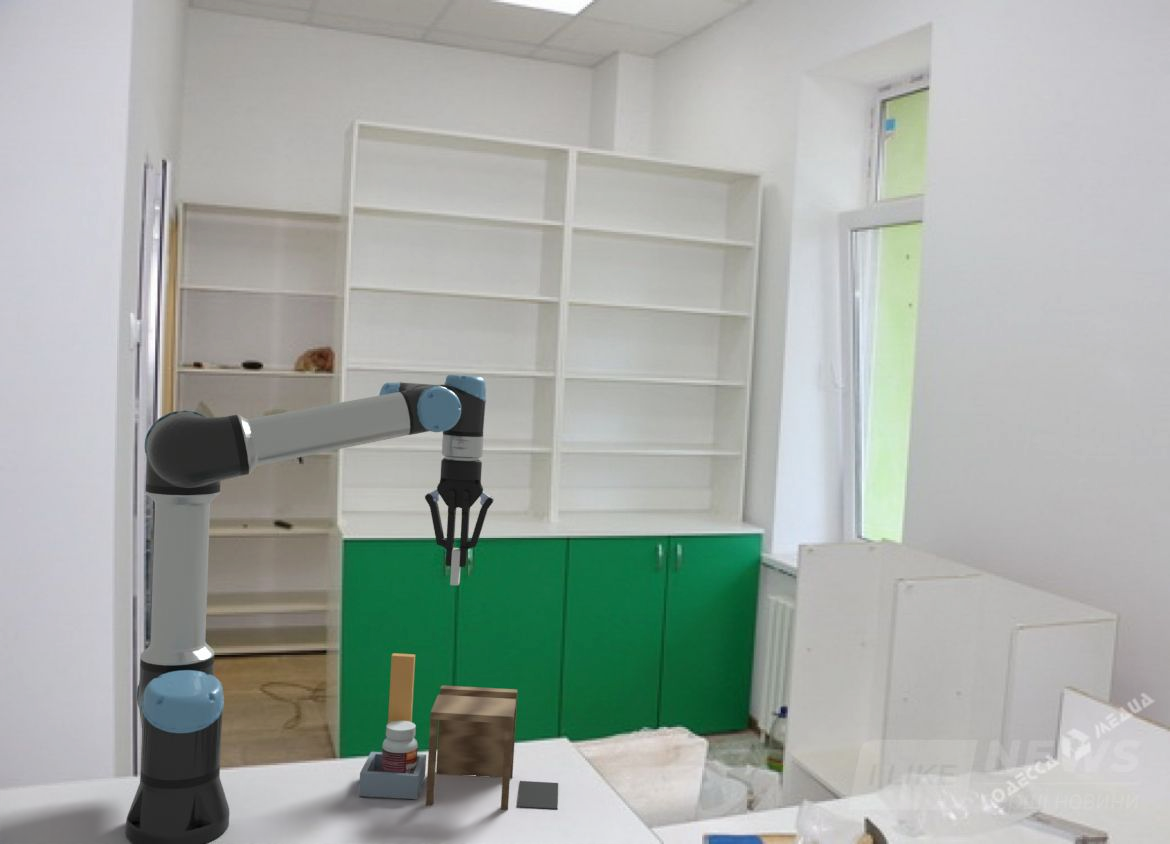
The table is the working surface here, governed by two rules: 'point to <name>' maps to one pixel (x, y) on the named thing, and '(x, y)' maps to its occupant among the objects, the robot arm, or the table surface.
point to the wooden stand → (472, 735)
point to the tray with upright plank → (399, 710)
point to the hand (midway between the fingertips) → (454, 583)
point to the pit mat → (538, 795)
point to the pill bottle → (400, 748)
